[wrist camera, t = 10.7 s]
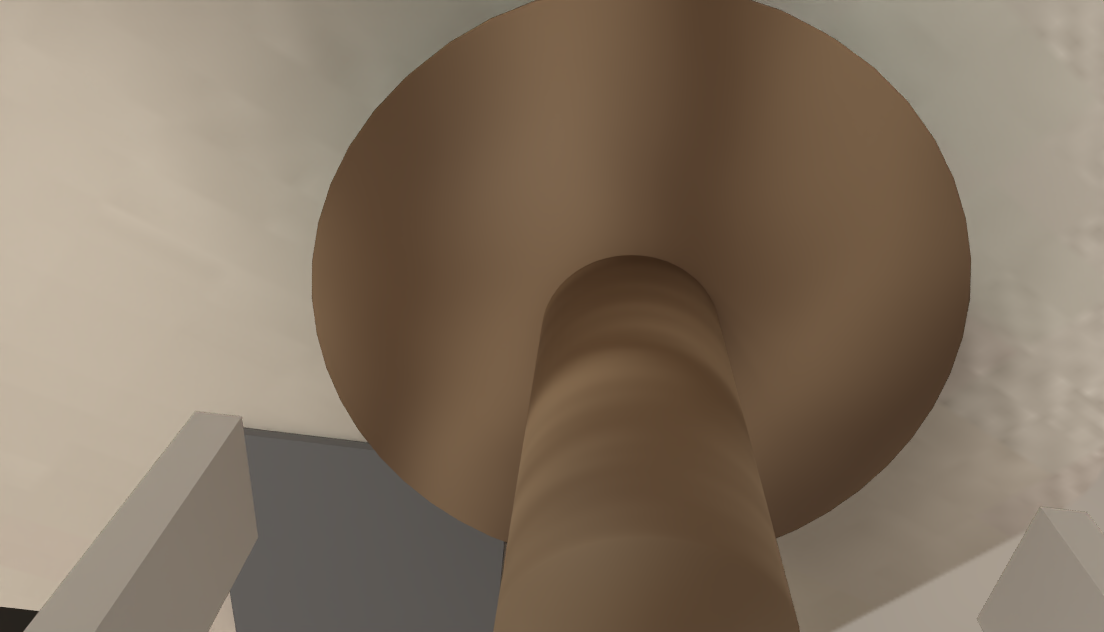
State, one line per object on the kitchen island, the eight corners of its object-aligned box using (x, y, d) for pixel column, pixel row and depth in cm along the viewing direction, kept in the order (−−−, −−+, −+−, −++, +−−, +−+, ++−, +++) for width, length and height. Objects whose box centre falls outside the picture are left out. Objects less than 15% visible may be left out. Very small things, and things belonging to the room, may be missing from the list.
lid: (335, 512, 23) (177, 864, 15) (303, -58, 16) (-66, -10, 7) (848, 574, 23) (987, 967, 15) (1073, 29, 15) (1645, 187, 7)
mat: (240, 627, 35) (236, 634, 35) (208, 423, 30) (203, 429, 29) (493, 659, 35) (492, 666, 35) (512, 460, 29) (510, 467, 29)
